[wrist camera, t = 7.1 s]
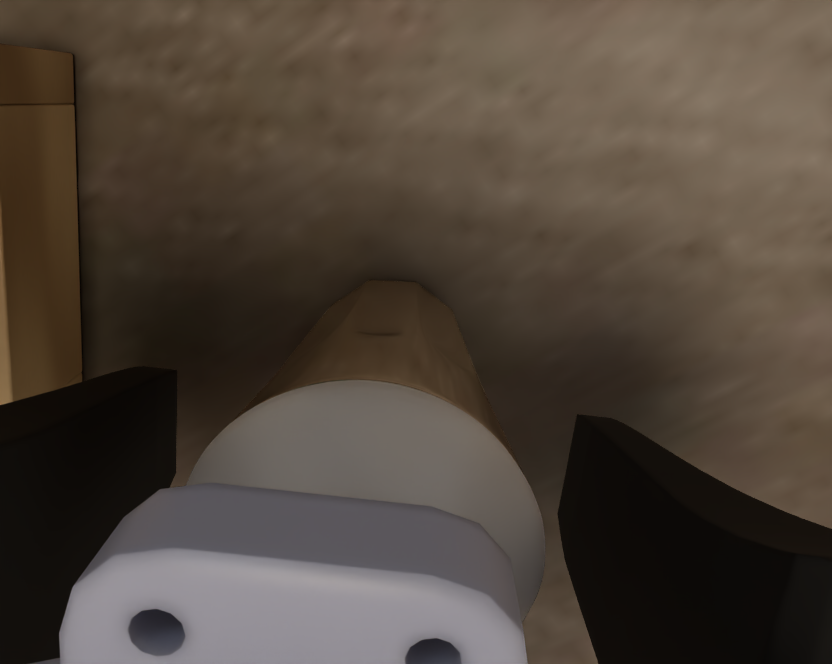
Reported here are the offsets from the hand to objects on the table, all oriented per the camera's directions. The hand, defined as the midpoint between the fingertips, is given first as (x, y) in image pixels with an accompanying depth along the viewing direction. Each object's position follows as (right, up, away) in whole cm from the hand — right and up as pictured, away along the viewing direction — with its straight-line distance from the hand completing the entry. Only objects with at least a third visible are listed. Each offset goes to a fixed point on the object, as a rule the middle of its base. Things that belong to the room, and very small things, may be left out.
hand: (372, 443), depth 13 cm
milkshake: (0, +1, +4) cm, 4 cm away
